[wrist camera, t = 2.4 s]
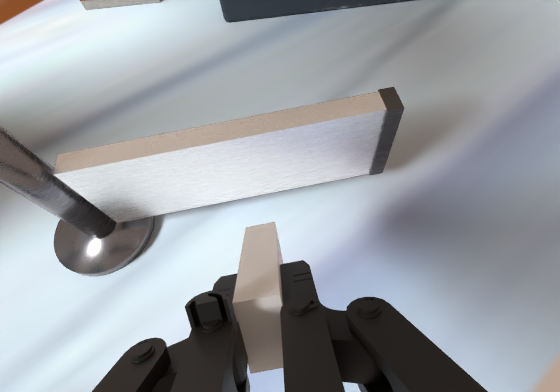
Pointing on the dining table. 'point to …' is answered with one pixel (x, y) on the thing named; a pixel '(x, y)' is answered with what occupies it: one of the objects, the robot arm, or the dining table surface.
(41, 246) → the dining table surface
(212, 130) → the swing panel
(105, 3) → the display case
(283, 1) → the power unit
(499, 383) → the dining table surface
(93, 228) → the panel post
